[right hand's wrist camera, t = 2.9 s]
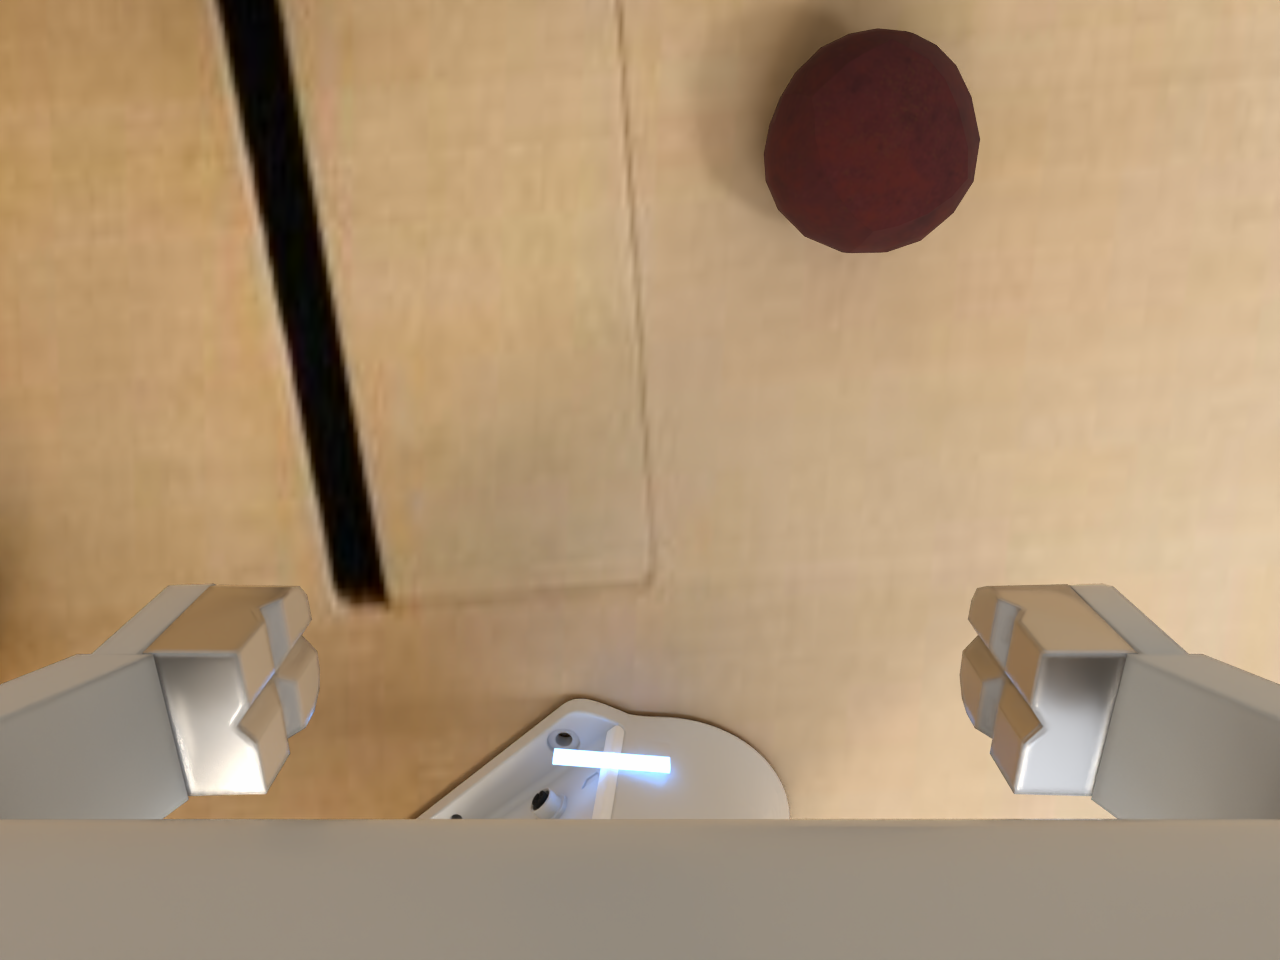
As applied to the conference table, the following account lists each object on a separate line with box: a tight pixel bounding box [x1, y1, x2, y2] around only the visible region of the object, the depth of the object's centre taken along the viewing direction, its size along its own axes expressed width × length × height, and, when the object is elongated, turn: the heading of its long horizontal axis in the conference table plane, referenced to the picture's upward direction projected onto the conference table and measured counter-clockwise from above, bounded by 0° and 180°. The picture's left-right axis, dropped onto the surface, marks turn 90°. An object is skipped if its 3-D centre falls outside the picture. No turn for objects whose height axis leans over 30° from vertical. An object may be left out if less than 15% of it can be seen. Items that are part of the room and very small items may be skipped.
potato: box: [764, 29, 980, 253], centre depth 30 cm, size 7×8×7 cm
